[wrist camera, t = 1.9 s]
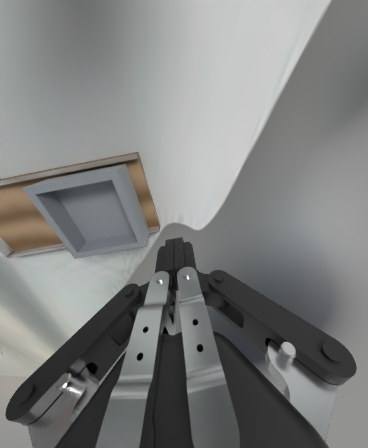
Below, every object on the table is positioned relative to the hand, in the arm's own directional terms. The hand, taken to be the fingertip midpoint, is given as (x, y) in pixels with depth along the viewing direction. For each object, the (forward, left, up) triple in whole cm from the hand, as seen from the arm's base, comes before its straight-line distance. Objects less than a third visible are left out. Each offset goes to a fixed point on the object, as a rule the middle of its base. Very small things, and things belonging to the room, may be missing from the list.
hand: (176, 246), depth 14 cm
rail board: (0, -20, -16) cm, 26 cm away
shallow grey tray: (0, -12, -15) cm, 19 cm away
